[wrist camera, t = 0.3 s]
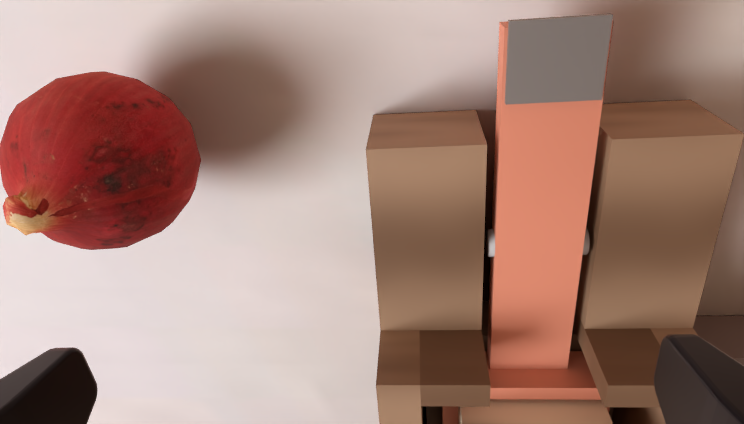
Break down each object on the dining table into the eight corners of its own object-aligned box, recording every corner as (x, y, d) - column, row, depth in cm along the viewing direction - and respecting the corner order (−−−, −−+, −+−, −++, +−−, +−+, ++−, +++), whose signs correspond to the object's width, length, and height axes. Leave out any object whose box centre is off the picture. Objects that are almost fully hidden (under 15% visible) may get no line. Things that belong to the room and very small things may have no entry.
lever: (589, 461, 25) (602, 502, 23) (442, 459, 26) (444, 498, 24) (670, 4, 16) (703, 14, 14) (436, 19, 16) (439, 30, 15)
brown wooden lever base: (615, 456, 28) (665, 588, 23) (398, 453, 29) (394, 578, 24) (690, 99, 19) (803, 171, 14) (373, 114, 20) (357, 186, 15)
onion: (202, 41, 20) (83, 105, 13) (242, 183, 22) (162, 302, 15) (57, 61, 20) (-131, 133, 13) (113, 196, 23) (-21, 316, 16)
